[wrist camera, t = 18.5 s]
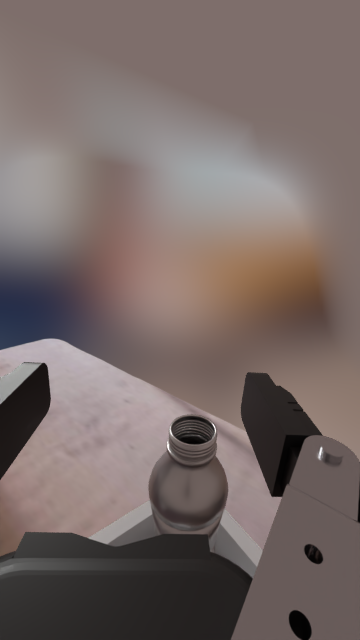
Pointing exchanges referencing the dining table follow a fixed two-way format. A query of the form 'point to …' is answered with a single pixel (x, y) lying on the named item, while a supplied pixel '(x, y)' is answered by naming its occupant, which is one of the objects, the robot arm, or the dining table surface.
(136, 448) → the dining table surface
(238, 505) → the dining table surface
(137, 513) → the bin
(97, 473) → the dining table surface
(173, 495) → the plastic bottle
